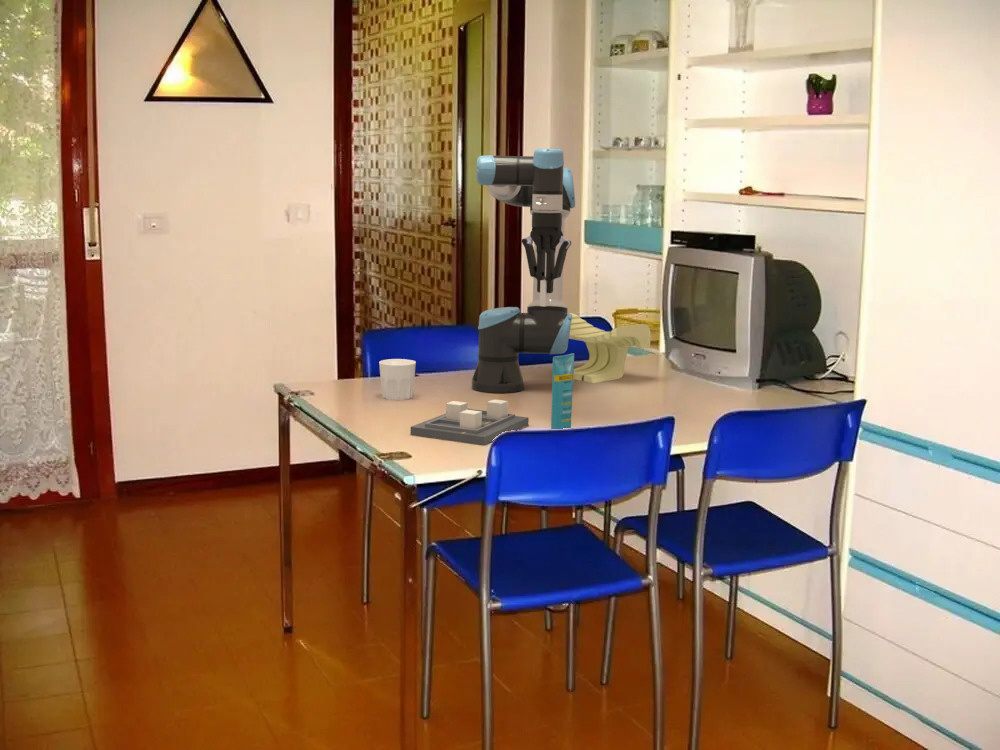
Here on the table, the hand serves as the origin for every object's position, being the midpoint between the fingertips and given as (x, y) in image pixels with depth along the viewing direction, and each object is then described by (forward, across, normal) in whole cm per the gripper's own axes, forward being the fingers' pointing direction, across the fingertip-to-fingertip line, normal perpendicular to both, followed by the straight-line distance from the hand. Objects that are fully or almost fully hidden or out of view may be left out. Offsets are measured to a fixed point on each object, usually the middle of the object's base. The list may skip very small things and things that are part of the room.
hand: (544, 305), depth 297 cm
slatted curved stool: (+30, -11, +62) cm, 70 cm away
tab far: (+27, -6, -13) cm, 31 cm away
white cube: (+27, -6, -27) cm, 39 cm away
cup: (+30, -46, +4) cm, 55 cm away
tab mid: (+27, -14, -20) cm, 36 cm away
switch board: (+29, -10, -20) cm, 37 cm away
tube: (+30, +10, -10) cm, 33 cm away
